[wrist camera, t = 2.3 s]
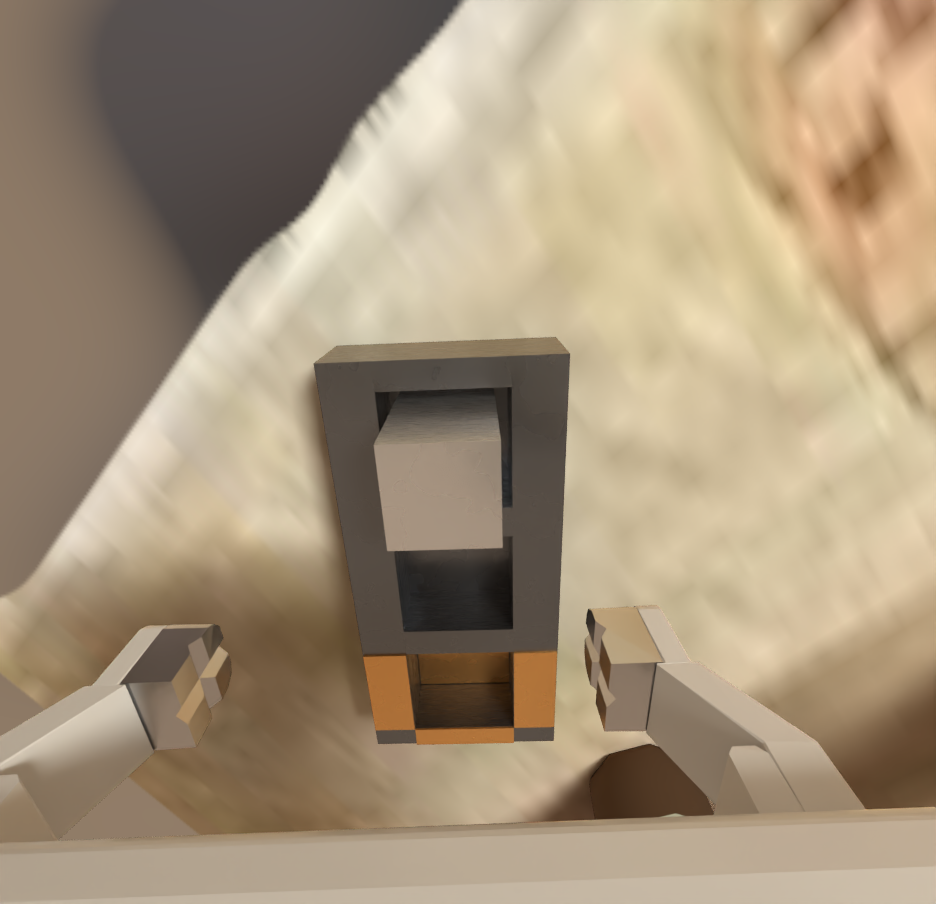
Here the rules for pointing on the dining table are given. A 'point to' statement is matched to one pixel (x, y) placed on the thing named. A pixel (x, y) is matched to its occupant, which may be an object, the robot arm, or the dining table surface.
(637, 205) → the dining table surface
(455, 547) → the block
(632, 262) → the dining table surface
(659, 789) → the beer bottle
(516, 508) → the grey tray
